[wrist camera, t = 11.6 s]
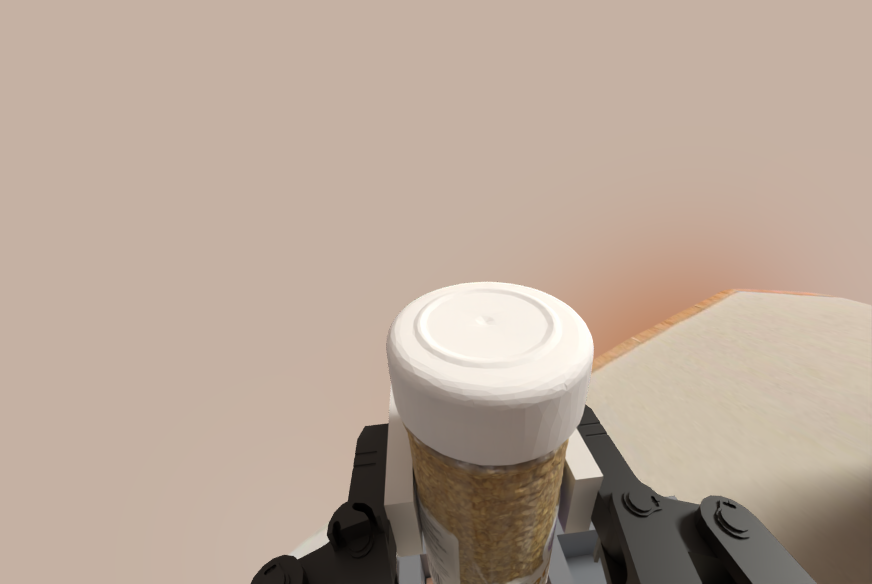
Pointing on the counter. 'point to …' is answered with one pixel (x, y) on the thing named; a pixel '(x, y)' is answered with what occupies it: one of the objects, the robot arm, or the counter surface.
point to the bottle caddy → (568, 572)
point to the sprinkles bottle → (489, 423)
